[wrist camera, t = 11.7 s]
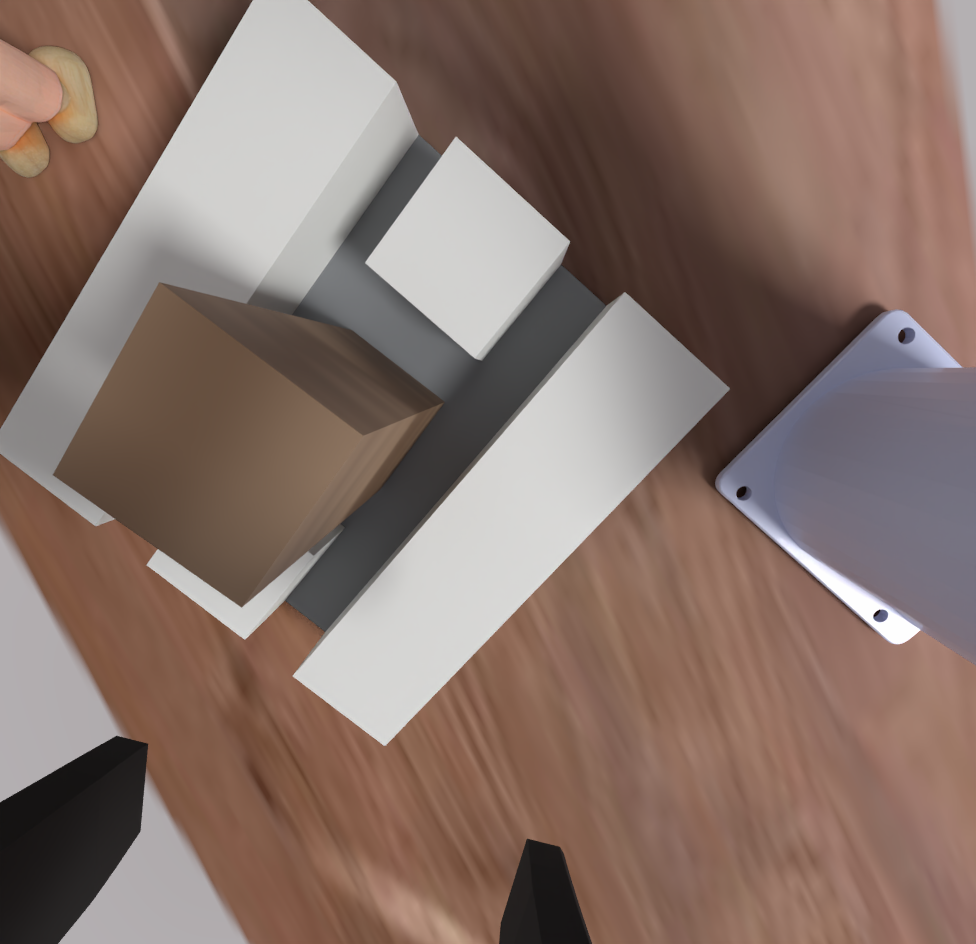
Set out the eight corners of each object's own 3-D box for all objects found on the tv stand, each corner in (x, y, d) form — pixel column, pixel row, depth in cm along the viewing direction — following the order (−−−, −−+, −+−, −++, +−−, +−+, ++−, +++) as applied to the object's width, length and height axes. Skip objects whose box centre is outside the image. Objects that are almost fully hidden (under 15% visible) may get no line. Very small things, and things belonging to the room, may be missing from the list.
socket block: (686, 385, 17) (730, 388, 13) (407, 681, 20) (384, 746, 16) (326, 57, 15) (272, -33, 12) (88, 432, 18) (-10, 446, 15)
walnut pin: (444, 402, 17) (363, 435, 8) (380, 488, 17) (241, 607, 9) (351, 330, 16) (159, 282, 8) (290, 422, 17) (52, 474, 8)
